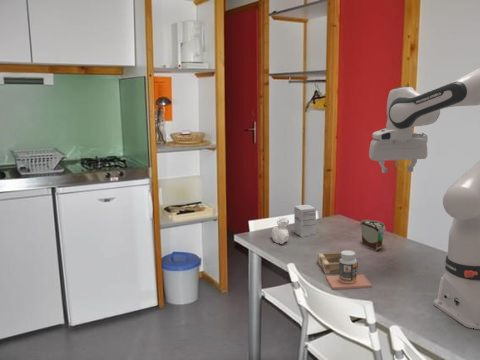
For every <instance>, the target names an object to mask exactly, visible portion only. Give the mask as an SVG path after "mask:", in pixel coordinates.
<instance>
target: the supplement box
mask: <svg viewBox="0 0 480 360" xmlns="http://www.w3.org/2000/svg"><path fill="white" fill-rule="evenodd" d="M293 209H294V210H293V211H294V213H293V214H294V223H293V224H294V227H293V228H294V229H293V231H294V233H295V234H297V236H300V238H305V237H306V236H307V237H313V236H316V233H317V231H316V227H317V226H316V223H317V222H316V221H317V220H316V219H317V217H316V215H317V209H316V207H314V206H312V205H311V204H300V205H294V207H293Z"/></svg>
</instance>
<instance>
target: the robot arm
mask: <svg viewBox="0 0 480 360" xmlns="http://www.w3.org/2000/svg"><path fill="white" fill-rule="evenodd" d="M464 106H465V107H466V106H467V107H468V106H469V107H472V106H480V67H478V68H477V69H474V70H473V71H471V72H469V73H467V74H465V75H464V76H462V77H459V78H457V79H455V80H453V81H451V82H449V83H447V84H445V85H442V86H440V87H437V88H435V89H431V90H430V91H426V92H425V93H420V92H418V91H416V90H415V88H413V87H412V86H408V85H407V86H406V85H405V86H398V87H394V88H392V89H391V90H390V91H389V93H388V96H387V102H386V116H387V120H386V125H385V126H386V127H385V128H382V129H380V130H376V131H374V132H373V133H372V135H371V137H372V138H373V139H372V140H371V141H370V144H369V150H368V157H369V159H370V160H371V161H374V162H375V161H376V162H378V165H380V168H381V173H382V174H387V173H388V167H385V165H384V164H385V161H399V160H400V161H401V160H402V161H403V160H404V161H405V160H407V161H408V160H410V162H411V163H410V165H409V166H407V172H408V173H411V172H412V173H414V167H416V164H417V162H418V160H425V159H427V157H428V135H427V134H425V133H424V132H413V128H414V127H423V126H424V127H425V126H429V125H432V124H435V123H436V121H437V120H438V119H439V117H440V113H441V110H444V109H447V108H453V107H464ZM442 206H443V209H444V211H445V212H446V213H447V214H448V216H450V217H452V218H453V219H452V223H451V226H450V229H449V231H448V244H447V245H448V246H447V255H446V257H445V260H444V268H445V272H443V273H444V274H443V275H442V276H441V277H440V281H439V286H438V287H439V288H438V293H437V298H435V299H434V300H433V306H435V307H436V308H438V309H439V310H441V311H442V312H443V313H445V314H446V315H448V316H449V317H451V318H452V319H454V320H456V321H457V322H458V323H460V324H461V325H463V326H464V327H466V328H468V329H473V328H474V330H480V160H479V161H478V162H476V163H475V164H473V166H471V167H470V168H469V169H468V170H466V172H465V173H463V174H462V175H461V176H459V177H458V179H457V180H456V181H454V182H453V183H452V184H451V185H450V186H449V187H448V188H447V190H446V191H445V193H444V195H443V197H442Z"/></svg>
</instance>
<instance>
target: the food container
mask: <svg viewBox="0 0 480 360" xmlns="http://www.w3.org/2000/svg"><path fill="white" fill-rule="evenodd" d="M360 227H361V244H362V245H363V246H364V247H367V248H369V249H371V250H373V251H375V252H379V251H381V250H382V247H383V240H384V239H383V238H384V232H386V226H385V224H384V223H383V222H382V221H378V220H373V219H362V220H360Z"/></svg>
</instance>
